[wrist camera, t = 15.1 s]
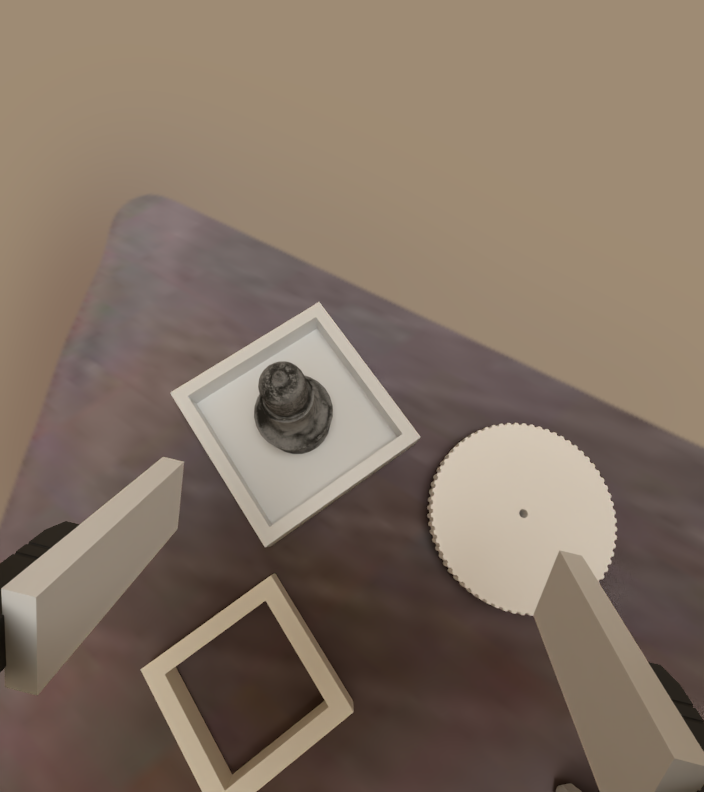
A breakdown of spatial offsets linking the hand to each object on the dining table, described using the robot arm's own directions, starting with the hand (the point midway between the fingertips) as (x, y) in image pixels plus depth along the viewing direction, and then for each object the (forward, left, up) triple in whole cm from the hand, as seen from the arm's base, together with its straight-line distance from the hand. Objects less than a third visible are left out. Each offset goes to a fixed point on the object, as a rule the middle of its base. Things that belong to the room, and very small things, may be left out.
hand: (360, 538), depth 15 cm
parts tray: (+10, -1, -21) cm, 23 cm away
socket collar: (-4, +12, -21) cm, 24 cm away
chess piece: (+10, -1, -20) cm, 22 cm away
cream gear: (-6, -11, -21) cm, 25 cm away
